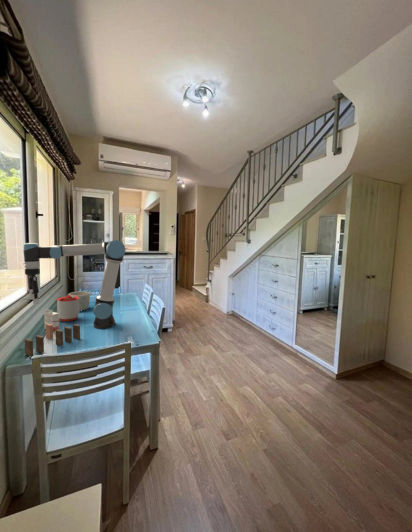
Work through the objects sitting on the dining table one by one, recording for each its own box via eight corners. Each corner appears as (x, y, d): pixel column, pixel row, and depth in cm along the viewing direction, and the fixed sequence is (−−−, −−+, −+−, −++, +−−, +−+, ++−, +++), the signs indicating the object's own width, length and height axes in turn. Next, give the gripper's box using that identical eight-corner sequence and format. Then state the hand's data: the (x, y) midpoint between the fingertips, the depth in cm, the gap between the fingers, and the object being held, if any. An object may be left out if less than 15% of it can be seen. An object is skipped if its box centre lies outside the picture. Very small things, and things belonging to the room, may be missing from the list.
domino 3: (48, 336, 158) (48, 323, 157) (53, 338, 156) (52, 324, 155) (45, 337, 157) (45, 324, 156) (50, 339, 155) (50, 325, 154)
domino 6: (75, 337, 159) (75, 323, 158) (80, 338, 157) (79, 325, 156) (73, 338, 158) (72, 324, 157) (77, 339, 156) (77, 326, 155)
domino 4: (58, 343, 150) (58, 329, 149) (63, 345, 147) (62, 330, 146) (55, 344, 148) (55, 329, 147) (60, 346, 146) (60, 331, 145)
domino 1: (28, 353, 135) (27, 338, 134) (33, 356, 133) (32, 340, 132) (25, 354, 134) (24, 339, 133) (30, 357, 131) (29, 341, 130)
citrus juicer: (81, 315, 203) (81, 291, 201) (77, 322, 187) (77, 296, 185) (60, 316, 198) (60, 292, 196) (54, 323, 182) (53, 297, 180)
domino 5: (67, 340, 155) (66, 326, 154) (72, 341, 152) (71, 328, 151) (64, 340, 153) (64, 327, 152) (69, 342, 151) (69, 328, 150)
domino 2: (39, 349, 140) (38, 334, 139) (44, 352, 138) (43, 336, 137) (36, 351, 139) (35, 335, 138) (41, 353, 136) (40, 337, 135)
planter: (69, 308, 220) (69, 291, 219) (90, 306, 227) (90, 290, 226) (67, 313, 205) (67, 296, 203) (90, 312, 212) (89, 294, 211)
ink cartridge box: (59, 329, 172) (59, 308, 170) (53, 331, 167) (52, 310, 165) (51, 327, 175) (50, 307, 173) (44, 329, 170) (43, 308, 168)
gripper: (22, 266, 158) (24, 298, 160) (27, 270, 140) (29, 306, 142) (36, 265, 163) (37, 296, 165) (43, 269, 145) (45, 304, 147)
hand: (34, 301), depth 154 cm, fingers open, 13 cm apart
